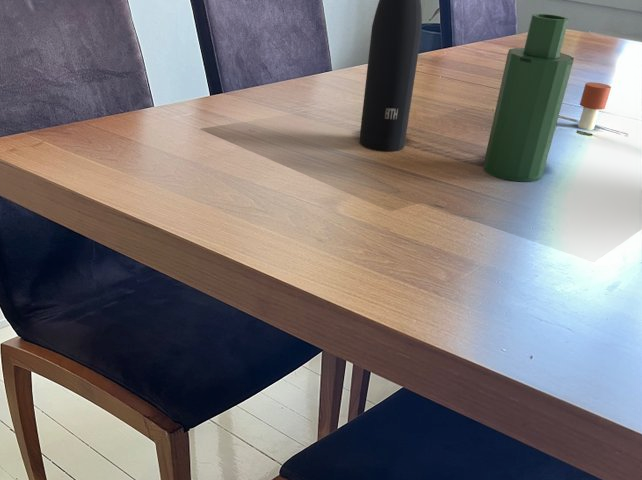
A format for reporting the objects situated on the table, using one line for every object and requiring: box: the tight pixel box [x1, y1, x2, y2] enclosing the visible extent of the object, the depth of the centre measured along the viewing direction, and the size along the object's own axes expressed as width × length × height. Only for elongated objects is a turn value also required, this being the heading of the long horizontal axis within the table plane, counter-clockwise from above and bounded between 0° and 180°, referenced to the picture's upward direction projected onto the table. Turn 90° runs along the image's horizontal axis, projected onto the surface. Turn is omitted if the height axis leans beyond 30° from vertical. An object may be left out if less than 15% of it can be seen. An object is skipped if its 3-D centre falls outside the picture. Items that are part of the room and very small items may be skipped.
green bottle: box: [482, 13, 575, 183], centre depth 92 cm, size 8×8×18 cm
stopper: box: [576, 81, 612, 136], centre depth 114 cm, size 4×4×7 cm
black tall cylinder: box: [358, 0, 423, 152], centre depth 93 cm, size 6×6×30 cm
